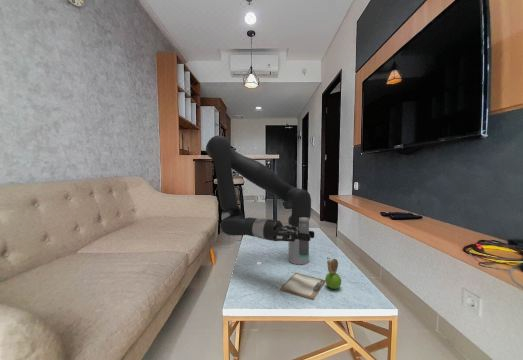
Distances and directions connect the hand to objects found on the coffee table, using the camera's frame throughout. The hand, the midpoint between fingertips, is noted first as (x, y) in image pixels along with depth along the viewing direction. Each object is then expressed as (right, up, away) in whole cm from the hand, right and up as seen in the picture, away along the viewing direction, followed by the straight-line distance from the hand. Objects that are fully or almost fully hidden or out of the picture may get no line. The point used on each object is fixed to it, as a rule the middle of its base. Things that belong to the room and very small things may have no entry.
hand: (311, 236), depth 75 cm
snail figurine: (+8, -20, +5) cm, 22 cm away
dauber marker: (-2, -7, +2) cm, 8 cm away
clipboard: (-2, -20, +7) cm, 21 cm away
